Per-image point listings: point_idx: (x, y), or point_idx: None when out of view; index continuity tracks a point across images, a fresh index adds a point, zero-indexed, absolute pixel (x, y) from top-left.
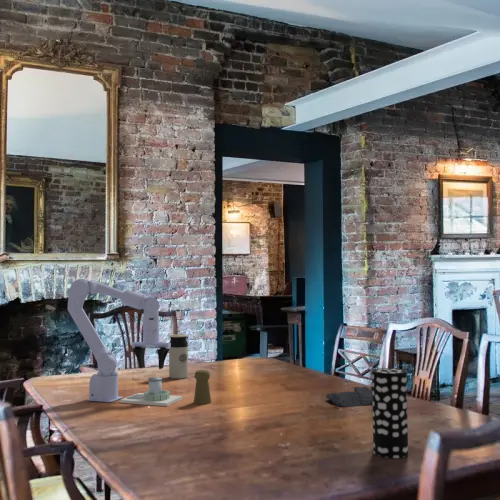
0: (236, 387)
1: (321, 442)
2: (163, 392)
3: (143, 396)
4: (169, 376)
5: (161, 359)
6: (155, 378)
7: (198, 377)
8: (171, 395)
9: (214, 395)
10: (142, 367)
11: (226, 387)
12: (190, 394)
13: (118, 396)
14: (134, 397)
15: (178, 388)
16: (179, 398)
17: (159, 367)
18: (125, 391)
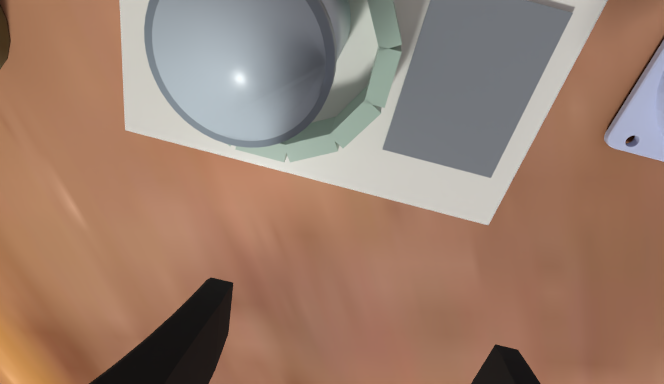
0: (19, 375)
1: None
2: None
3: (416, 87)
4: None
5: (100, 375)
6: (232, 56)
7: None
8: (213, 151)
9: (8, 223)
10: (484, 368)
11: (62, 378)
12: (153, 249)
13: (648, 145)
14: (493, 42)
15: (281, 377)
16: (127, 77)
17: (213, 290)
18: (588, 335)
